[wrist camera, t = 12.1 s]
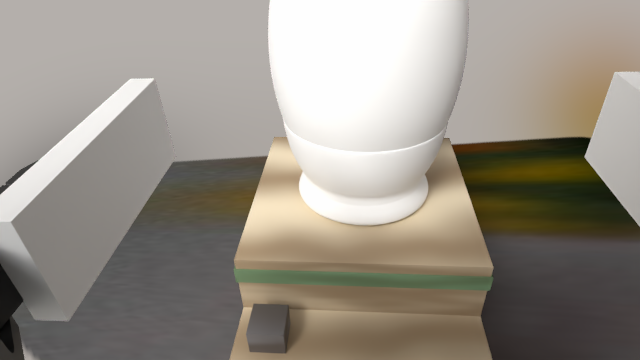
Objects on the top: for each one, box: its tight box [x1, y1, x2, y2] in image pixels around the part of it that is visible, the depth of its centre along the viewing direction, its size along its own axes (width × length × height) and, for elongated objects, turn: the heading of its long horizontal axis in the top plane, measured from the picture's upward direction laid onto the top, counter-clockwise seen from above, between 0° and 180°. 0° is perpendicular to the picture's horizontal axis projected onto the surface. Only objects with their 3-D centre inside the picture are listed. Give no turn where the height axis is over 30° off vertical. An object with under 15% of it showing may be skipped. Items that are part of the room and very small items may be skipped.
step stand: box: [230, 137, 494, 360], centre depth 30 cm, size 19×14×9 cm
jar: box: [268, 0, 469, 226], centre depth 25 cm, size 11×10×15 cm
